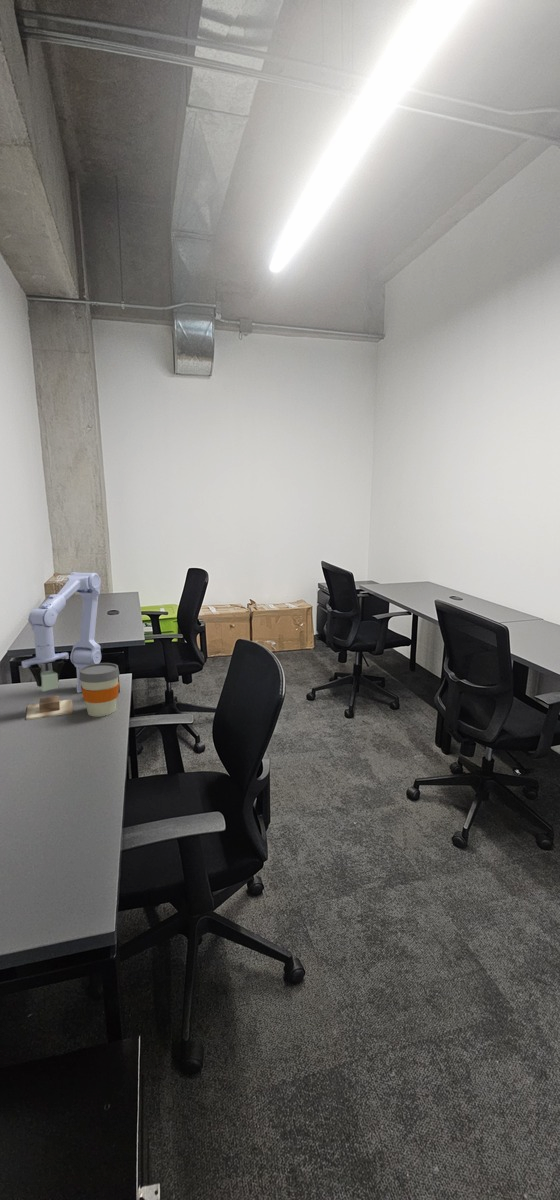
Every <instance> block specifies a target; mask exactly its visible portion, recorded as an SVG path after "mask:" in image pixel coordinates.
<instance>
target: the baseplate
mask: <svg viewBox="0 0 560 1200" xmlns="http://www.w3.org/2000/svg"><path fill="white" fill-rule="evenodd" d="M73 713H74V709H73V699H72V698H71V699H64V700H60V695H54V696H53V695H52V696H47V697H46V696H45V697H41V698H39V703H34V704H28V705H27V710H26V716H25V721H29V720H35V719H43V718H50V717H57V716H62V715H63V716H64V715H69V714H70V715H71V714H73Z"/></svg>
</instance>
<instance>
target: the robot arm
mask: <svg viewBox="0 0 560 1200" xmlns="http://www.w3.org/2000/svg"><path fill="white" fill-rule="evenodd" d="M66 581H67V582H66V583H65V584H64V586H63V587H62V588H61V589H60V590H59V591H58V593H57V594H55V593H53V594H50V595H48V598H47V599H46V600H45V601H44V602H43V603H42V604H40V606H39V608H34V609H33V610H31V611H30V613H29V615H28V618H27V621H28V623H29V625H30V626H31V631H32V632H33V636H34V637H33V639H34V650H35V656H34V657H33V658H29V659H25V660H22V661H21V667H22V668H23V669H26V668H28V669H29V672H31V674H32V676H33V678H34V680H35V682H36V687H37V686H39V687H40V686H41V672H42V668H41V667H40V665H42V664H43V665H44V664H49V663H51V666H52V671H54V672H56V673H57V674H58V683H59V681H60V675H61V672H62V669H63V667H64V665H65V661H64V660H68V659H70V662H71V663H72V664H73V665H74V667H75V668H76V681H77V685H76V693H79V694H81V693H82V690H81V686H82V683H81V680H80V679H79V676H80V669H81V668H83V667H85V666H88V665H92V664H98V663H101V660H102V652H101V648H102V647H101V645H100V644H99V643H97V642H96V641H95V638H96V637H95V635H96V624H97V615H98V614H97V613H98V606H99V605H98V604H99V603H98V601H99V596H100V595H101V585H102V579H101V577H100V576H99V574H98V573H97V572H77V571H72V572H71V573H70V574H69V575H68V576H67V578H66ZM75 593H76V594H78V595H80V596H81V597H82V607H81V616H80V617H81V618H80V631H79V639H78V641H76V642H75V643H74V644H73V645H72V650H71V653H70V654H69V652H66V651H65V652H61V653H59V652H58V653H55V642H54V641H55V638H54V627H53V626H54V625H55V623H56V621H57V617H58V616H59V613H60V612H61V611H63V609H64V608H65V607H66V605H67V603H66V601H67V600H68V599H70V598H71V597H72V596H73V595H74V594H75ZM69 655H70V656H69ZM69 657H70V658H69Z"/></svg>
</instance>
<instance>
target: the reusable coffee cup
mask: <svg viewBox="0 0 560 1200" xmlns="http://www.w3.org/2000/svg"><path fill="white" fill-rule="evenodd" d="M117 665H118V664H116V663H111V662H100V663H98V664H92V665H88V666H85V667H83V668H81V669H80V676H79V679H80V680H81V683H82V686H81V690H82V692H81V696H82V700H83V701H84V702H85V705H86V706H85V707H86V709H87V710H86V711H87V714H88V715H89V716H91V717H105V715H106V716H109V715H108V714H110V715H111V713H112V714H114V713H115V712H116V711H117V702H118V701H117V700H118V699H117V698H118V697H119V693H118V691H119V685H120V681H119V682H118V676H119V677H120V670H119V665H118V666H117ZM115 710H116V711H115ZM114 711H115V712H114ZM113 712H114V713H113Z"/></svg>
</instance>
